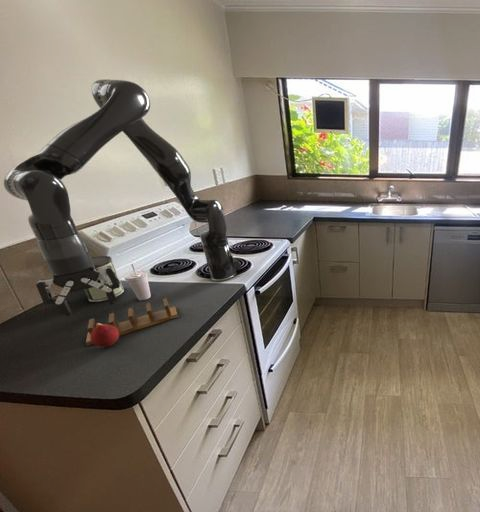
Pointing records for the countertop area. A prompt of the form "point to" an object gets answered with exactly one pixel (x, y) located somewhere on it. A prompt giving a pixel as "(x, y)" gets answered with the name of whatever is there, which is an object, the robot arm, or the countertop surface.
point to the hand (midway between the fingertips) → (91, 308)
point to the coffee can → (99, 294)
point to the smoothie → (139, 283)
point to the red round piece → (104, 335)
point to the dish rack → (136, 320)
